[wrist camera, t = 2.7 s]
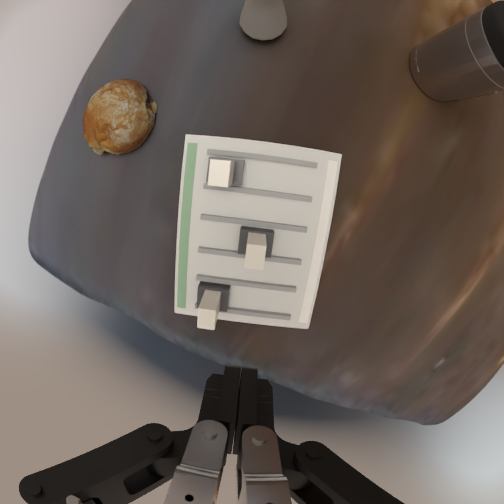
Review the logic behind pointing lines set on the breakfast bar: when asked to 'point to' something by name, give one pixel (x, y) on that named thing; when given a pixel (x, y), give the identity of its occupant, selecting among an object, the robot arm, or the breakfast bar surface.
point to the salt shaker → (263, 19)
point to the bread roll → (118, 117)
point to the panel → (260, 216)
